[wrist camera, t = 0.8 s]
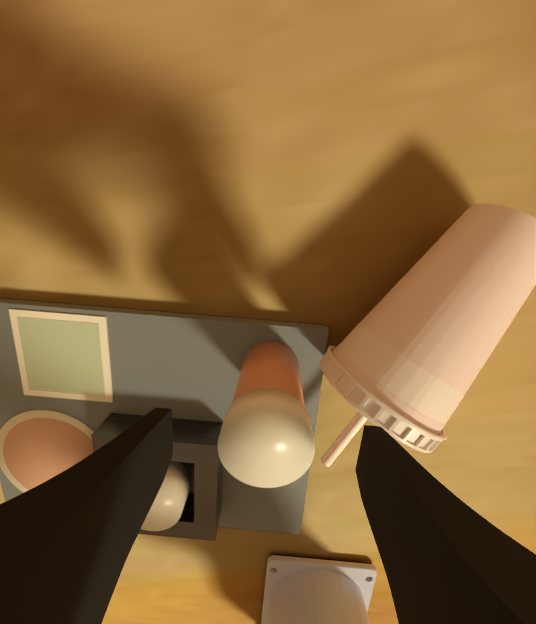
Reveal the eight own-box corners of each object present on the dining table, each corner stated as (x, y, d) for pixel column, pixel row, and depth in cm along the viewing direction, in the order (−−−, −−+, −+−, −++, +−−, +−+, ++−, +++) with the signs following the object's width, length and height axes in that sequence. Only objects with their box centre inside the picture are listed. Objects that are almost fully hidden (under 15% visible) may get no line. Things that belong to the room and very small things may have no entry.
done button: (191, 504, 18) (182, 533, 17) (133, 499, 18) (118, 528, 17) (191, 457, 17) (181, 483, 16) (130, 452, 17) (114, 477, 16)
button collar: (221, 510, 20) (215, 540, 18) (118, 501, 20) (101, 530, 18) (224, 422, 18) (218, 446, 16) (111, 412, 18) (91, 434, 16)
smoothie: (444, 230, 17) (306, 413, 20) (429, 165, 12) (246, 424, 15) (579, 285, 13) (388, 500, 16) (643, 224, 8) (346, 556, 11)
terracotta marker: (298, 396, 17) (309, 491, 11) (238, 391, 17) (216, 483, 11) (304, 340, 16) (320, 411, 10) (241, 335, 16) (218, 402, 10)
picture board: (299, 523, 21) (299, 536, 20) (16, 497, 21) (5, 509, 20) (326, 325, 17) (329, 330, 16) (-27, 296, 17) (-43, 300, 16)
